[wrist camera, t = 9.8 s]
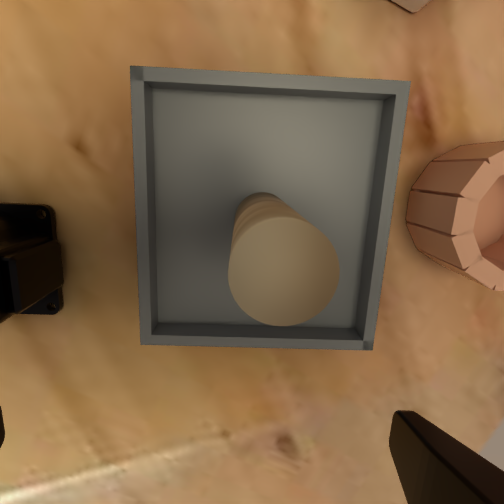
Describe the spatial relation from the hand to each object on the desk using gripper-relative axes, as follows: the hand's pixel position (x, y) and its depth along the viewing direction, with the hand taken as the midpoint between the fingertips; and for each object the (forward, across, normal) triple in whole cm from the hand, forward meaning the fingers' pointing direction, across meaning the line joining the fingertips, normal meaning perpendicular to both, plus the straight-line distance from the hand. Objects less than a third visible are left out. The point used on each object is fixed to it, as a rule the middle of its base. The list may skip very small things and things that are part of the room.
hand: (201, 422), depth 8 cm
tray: (+13, -2, -3) cm, 13 cm away
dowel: (+12, -2, -3) cm, 13 cm away
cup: (+13, -14, -4) cm, 20 cm away
